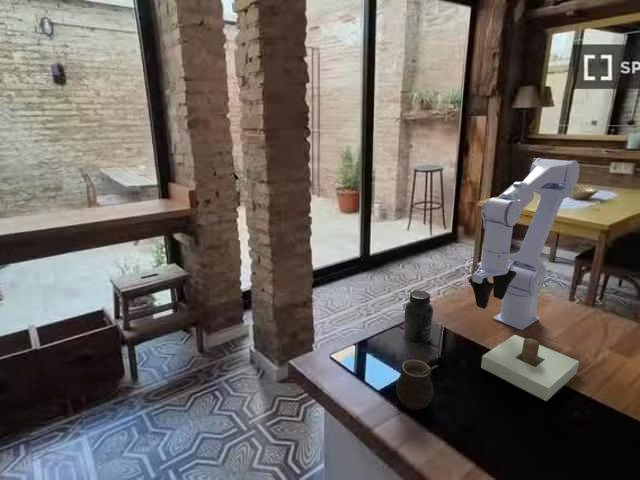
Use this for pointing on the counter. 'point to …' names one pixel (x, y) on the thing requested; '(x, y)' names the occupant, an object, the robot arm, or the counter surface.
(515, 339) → the socket block
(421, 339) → the supplement bottle
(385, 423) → the counter surface
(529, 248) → the robot arm
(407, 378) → the mate gourd
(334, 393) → the counter surface
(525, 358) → the dowel
